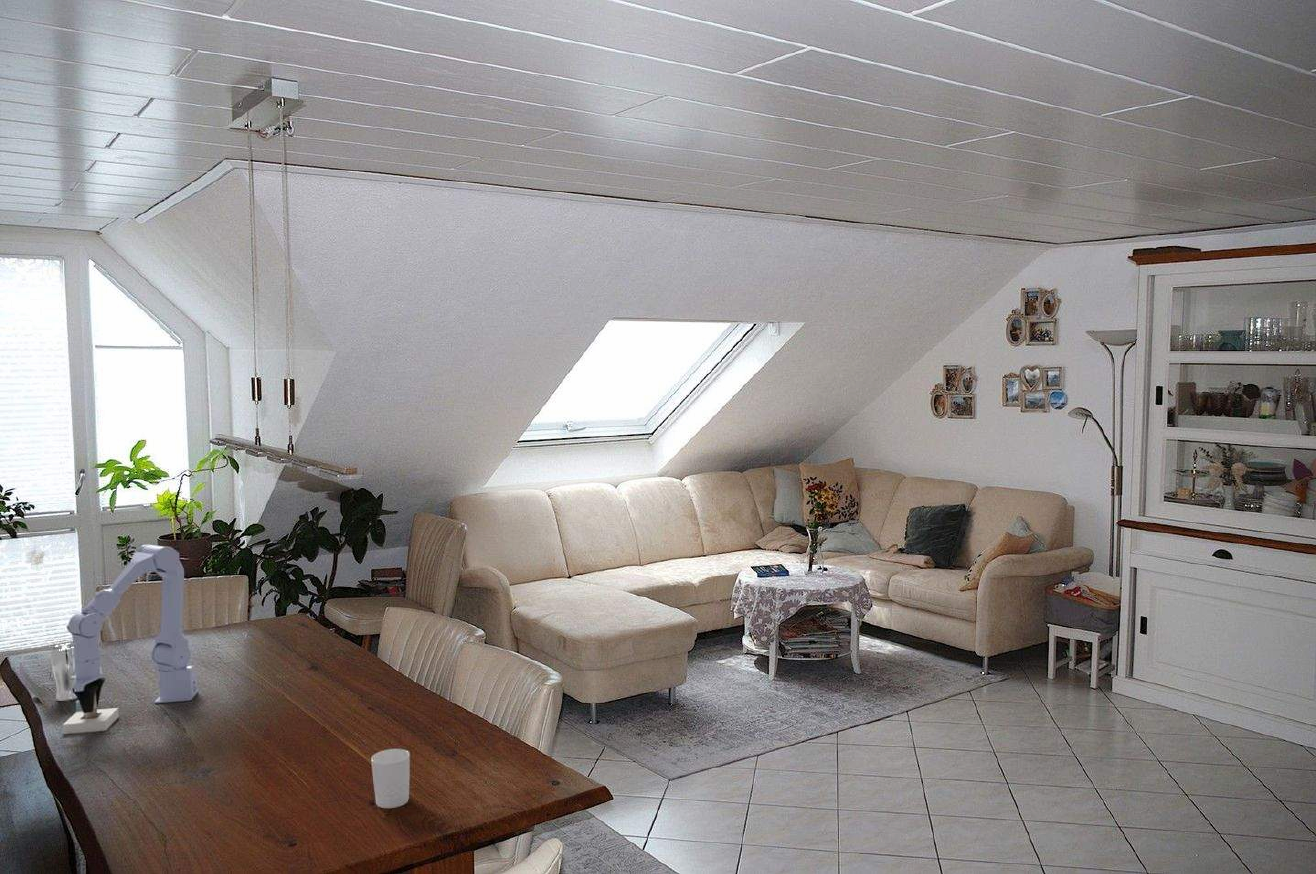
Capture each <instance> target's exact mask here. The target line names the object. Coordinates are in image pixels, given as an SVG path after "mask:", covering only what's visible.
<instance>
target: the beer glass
mask: <svg viewBox="0 0 1316 874" xmlns="http://www.w3.org/2000/svg"><path fill="white" fill-rule="evenodd" d="M50 650H51V652H50V653H51V654H50V655H51V656H50V657H51V658H50V659H51V668H52V674H53V677H54V681H55V686H56V696H55V701H56V702H58V701H66V702H70V700H72V701H75V700H78V699H77V696H76V695H75V694H74V693H73V691H72V688H73V687H74V684H75V680H71V677H72V676H74V675H75V661H74V647H73V642H72V643H63V644H58V645H54V646H53V647H51V649H50Z"/></svg>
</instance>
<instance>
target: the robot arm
mask: <svg viewBox="0 0 1316 874" xmlns="http://www.w3.org/2000/svg"><path fill="white" fill-rule="evenodd" d="M150 573H156V574H157V575H158V576H159V577H160V578H162V583H161V605H160V606H161V611H160V615H161V616H160V633H159V635H158V636H156V638H155V639H154V644H153V645H154V646H153V648H152V650H151V654H150V655H151V660H152V661H153V662H154V663H155V664H156V668H157V676H158V677H157V678H158V680H157V681H158V691H159V692H158V693H159V696H158V698H157V699H155V701H154V703H155V704H162V703H164V704H166V703H174V702H175V703H176V702H187V701H189V702H190V701H192V700H193V699H194V697H196V695H197V693H199V690H198V681H197V668H196V666H195V665H188V664H189V662H190V660H191V657H192V651H191V650H190V647H189V640H188V638H187V637H186V636H185V634H184V633H183V619H184V618H183V616H184V592H185V591H184V588H185V587H184V586H185V584H184V582H185V569H184V567H183V564H182V562H181V560H180V552H179V551H177V550H176V549H174V548H173V547H172V546H168V545H167V546H161V545H155V544H151V543H149V544H144V545H142V546H140V548H139V549H138V550H137V551H136V552H135V553H134V554H133V555H132V557H131V561H130V562H128V564H127V565H126V567H125V568H124V569H123V570H122V572H121V573H120V574H119V576H118V577H117V578H116V579H115V580H114V582H113V583H112V584H111V585H110V586H109V587H108V588H106V589H101V590H100V591H96V592H95V594H93V596H94V597H93V598H92V600H91V601H89V603H88V604H87V605H86V606H85V607H83V608H81V610H80V612H78V613H75V614H74V615H72V617H70V619H69V621H68V625H66V629H67V631H68V633H70V634H71V637H72V643H73V647H74V661H75V675H74V676H72V677H71V680H75V684H74V687H73V688H72V691H73V693H74V694H75V695H76V696H77V698H78V699H77V701H78V700H79V702H80V705H81V708H82V710H83V713H88V712H93V709H94V698H95V693H96V704H97V708H98V707H99V703H100V697H101V691H102V688H103V686H104V684H105V682H106V677H103V666H101V658H100V645H99V644H100V641H99V633H100V632H102V630H103V626H104V622H105V620H106V619H107V618H108V617H109V615H110V614H111V613H112V612H113V611H114V610H115V609H116V607H118V605H120V603H121V596H122V595H123V594H124V593H125V592H126V591H127V589H129V587H131V586H132V585H133V584H134V583H135V582H136V581H137V580H138V579H139V578H140V577H141V576H142V575H146V574H150Z"/></svg>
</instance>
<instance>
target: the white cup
mask: <svg viewBox="0 0 1316 874" xmlns="http://www.w3.org/2000/svg"><path fill="white" fill-rule="evenodd" d="M410 754H411V753H410V751H408V750H406V749H404V748H403V749H402V748H388V749H384V750H381V751H378V752H376V753H374V754H373V755H371V758H370V759H371V771H372V783H373V789H374V797H375V799H374V800H375V804H376V807H379V808H382V809H394V808H399V807H401V806H404V805H405V804H407V803H408V802H409V799H410V774H411V773H410V770H411V767H410V765H411V763H410V762H411V761H410V758H411V757H410V756H411V755H410Z"/></svg>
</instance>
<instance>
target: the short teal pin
mask: <svg viewBox="0 0 1316 874" xmlns="http://www.w3.org/2000/svg"><path fill="white" fill-rule="evenodd" d="M75 707H76V709H75V710H76V712H77V711H83V710H82V708H81V705H80V702H79V700H78V699H77V700H76V701H75Z"/></svg>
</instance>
